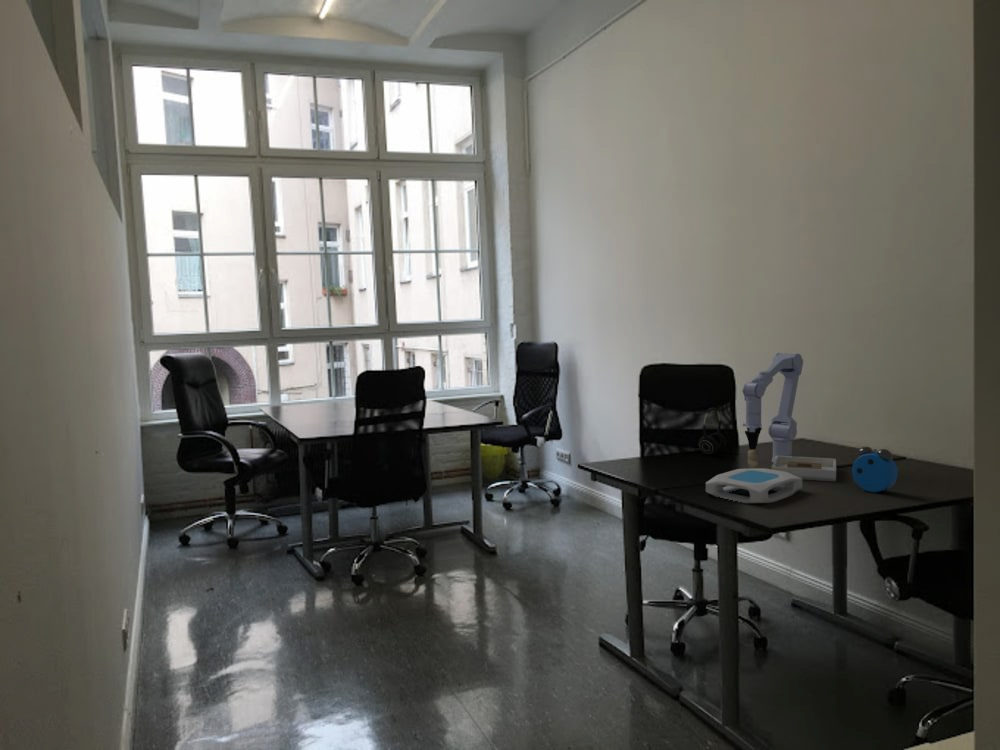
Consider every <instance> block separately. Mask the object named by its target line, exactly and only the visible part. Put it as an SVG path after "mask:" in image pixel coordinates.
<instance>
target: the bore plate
mask: <svg viewBox="0 0 1000 750" xmlns="http://www.w3.org/2000/svg"><path fill="white" fill-rule="evenodd" d="M787 467H791V468H808V469H822V463H810V462H791V461H788V465H787Z"/></svg>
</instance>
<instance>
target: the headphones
mask: <svg viewBox="0 0 1000 750" xmlns="http://www.w3.org/2000/svg"><path fill="white" fill-rule="evenodd" d="M712 411H715V412H716V413H717V416H718V424H717V425H718V426H717V431H716V432H713V433H711V434H710V435H708V433H707V428H706V427H707V426H706V420H707V416H708V414H710V413H711V412H712ZM705 413H706V414H705V416H704V419H703V426H702V427H703V428H702V431H703V436H701V437H700V438H699V440H698V447H699V449H700V451H701V452H703V453H704V454H706V455H714V454H716V453H720V452H722V451H723V450H724V449H725V447H726V445H727V440H726V438H725V436H724V435H723V434H721V428H722V427H721V425H722V419H721V415H720V411H719V410H718V408H716V407H710V408H708V409H707V410H706V412H705Z"/></svg>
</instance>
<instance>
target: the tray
mask: <svg viewBox="0 0 1000 750" xmlns="http://www.w3.org/2000/svg"><path fill="white" fill-rule="evenodd" d="M788 461H791V462H810V463H822V469H808V468H791V467H787V465H788ZM771 470H777V471H784V472H788V473H790V474H792V475H795V476H797V477H800V478H802V481H803V480H805V481H807V480H808V481H818V482H819V481H820V482H821V481H822V482H837V458H831V457H830V458H829V457H812V456H811V457H809V456H775V459H774V462H772V464H771Z"/></svg>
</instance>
